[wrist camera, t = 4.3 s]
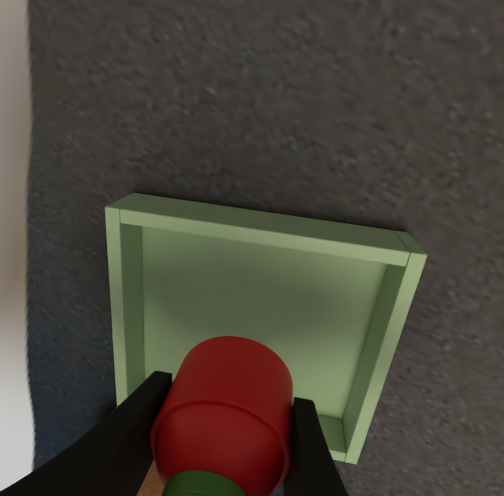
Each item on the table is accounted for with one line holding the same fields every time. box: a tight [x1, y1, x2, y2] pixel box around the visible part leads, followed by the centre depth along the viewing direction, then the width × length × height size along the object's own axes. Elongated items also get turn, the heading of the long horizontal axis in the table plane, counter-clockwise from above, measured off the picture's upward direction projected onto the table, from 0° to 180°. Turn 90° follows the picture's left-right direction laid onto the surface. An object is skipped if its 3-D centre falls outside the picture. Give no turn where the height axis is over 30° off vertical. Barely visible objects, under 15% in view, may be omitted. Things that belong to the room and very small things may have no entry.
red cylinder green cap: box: [150, 336, 293, 496], centre depth 11 cm, size 4×4×5 cm
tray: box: [105, 193, 427, 464], centre depth 16 cm, size 12×11×2 cm
